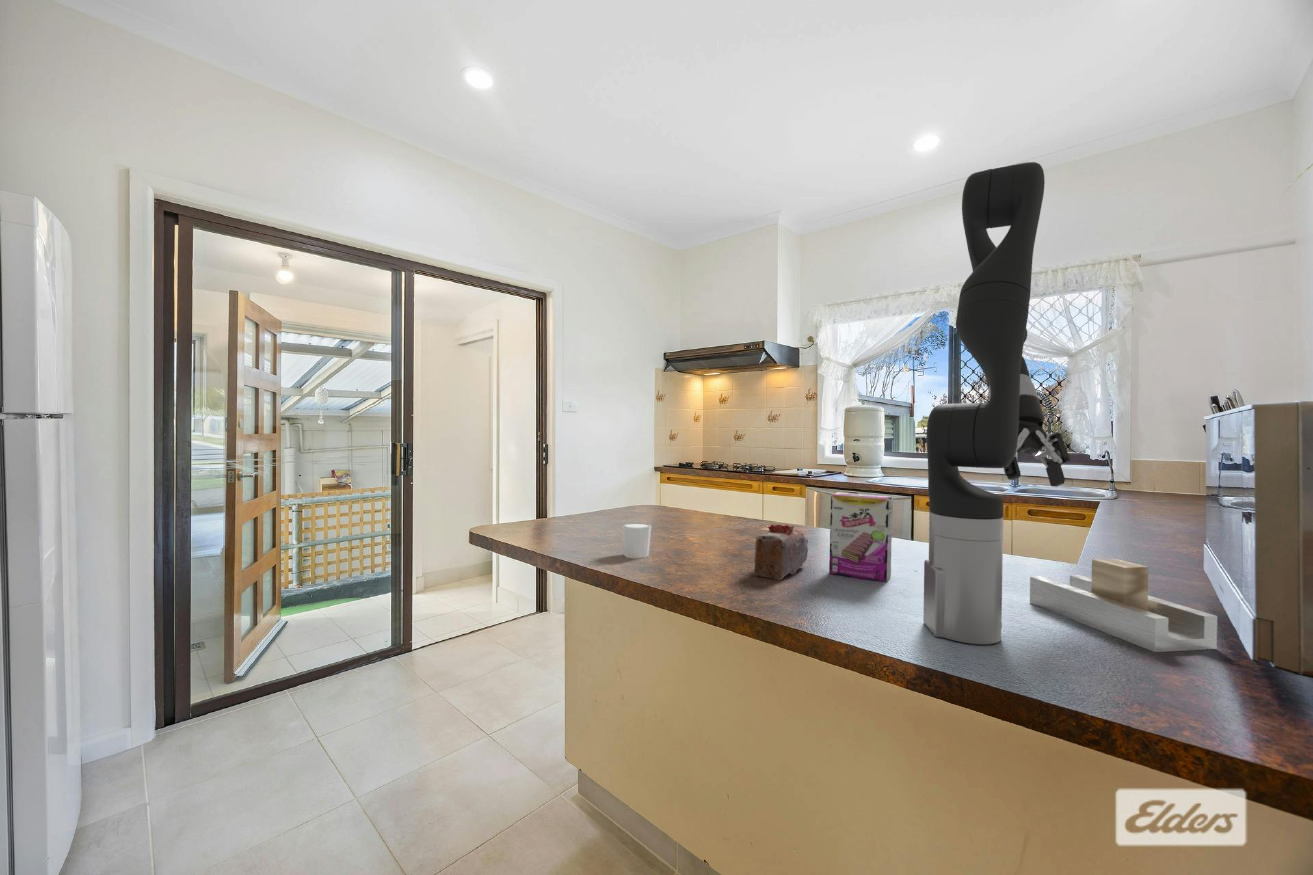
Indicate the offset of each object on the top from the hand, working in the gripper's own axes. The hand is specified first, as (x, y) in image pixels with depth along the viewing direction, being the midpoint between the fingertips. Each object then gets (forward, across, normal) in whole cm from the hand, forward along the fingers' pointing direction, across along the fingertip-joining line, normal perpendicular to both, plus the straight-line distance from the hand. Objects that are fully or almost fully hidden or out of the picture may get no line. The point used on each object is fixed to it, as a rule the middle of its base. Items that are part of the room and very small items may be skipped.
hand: (1036, 481), depth 92 cm
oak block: (+23, +4, -4) cm, 23 cm away
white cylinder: (+10, -64, +46) cm, 80 cm away
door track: (+24, +4, -2) cm, 24 cm away
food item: (+14, -36, +30) cm, 49 cm away
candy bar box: (+14, -21, +25) cm, 36 cm away
